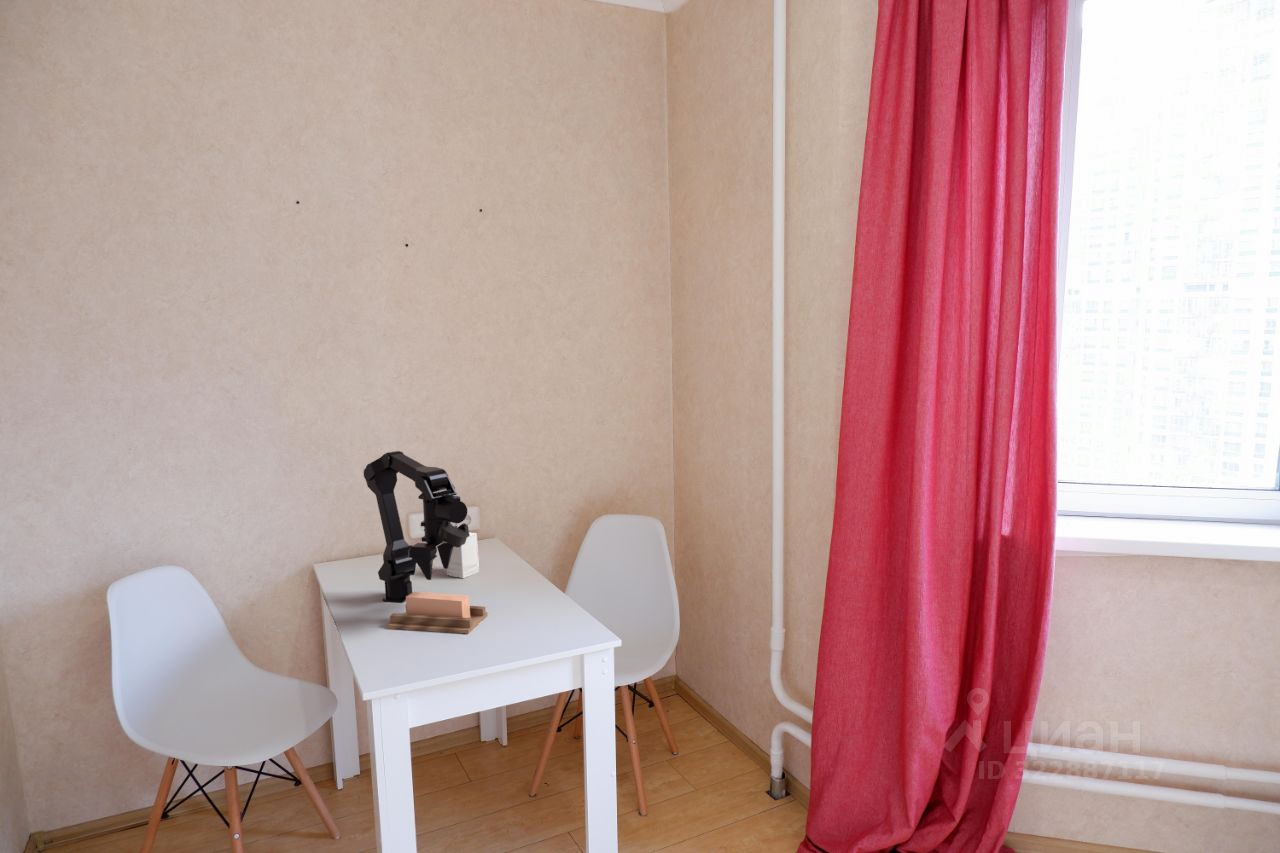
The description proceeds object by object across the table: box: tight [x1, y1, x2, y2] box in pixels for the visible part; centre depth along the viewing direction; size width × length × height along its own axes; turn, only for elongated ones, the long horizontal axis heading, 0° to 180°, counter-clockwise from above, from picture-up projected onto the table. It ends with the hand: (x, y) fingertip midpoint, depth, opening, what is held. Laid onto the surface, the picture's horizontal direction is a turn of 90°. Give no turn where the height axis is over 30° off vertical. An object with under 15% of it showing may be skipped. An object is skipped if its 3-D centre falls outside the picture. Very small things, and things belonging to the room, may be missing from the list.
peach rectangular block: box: [405, 591, 471, 618], centre depth 195 cm, size 16×4×6 cm, turn 75°
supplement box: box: [445, 531, 480, 579], centre depth 234 cm, size 7×7×13 cm
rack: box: [387, 605, 489, 635], centre depth 196 cm, size 22×12×3 cm, turn 78°
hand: (437, 573), depth 201 cm, fingers open, 9 cm apart
